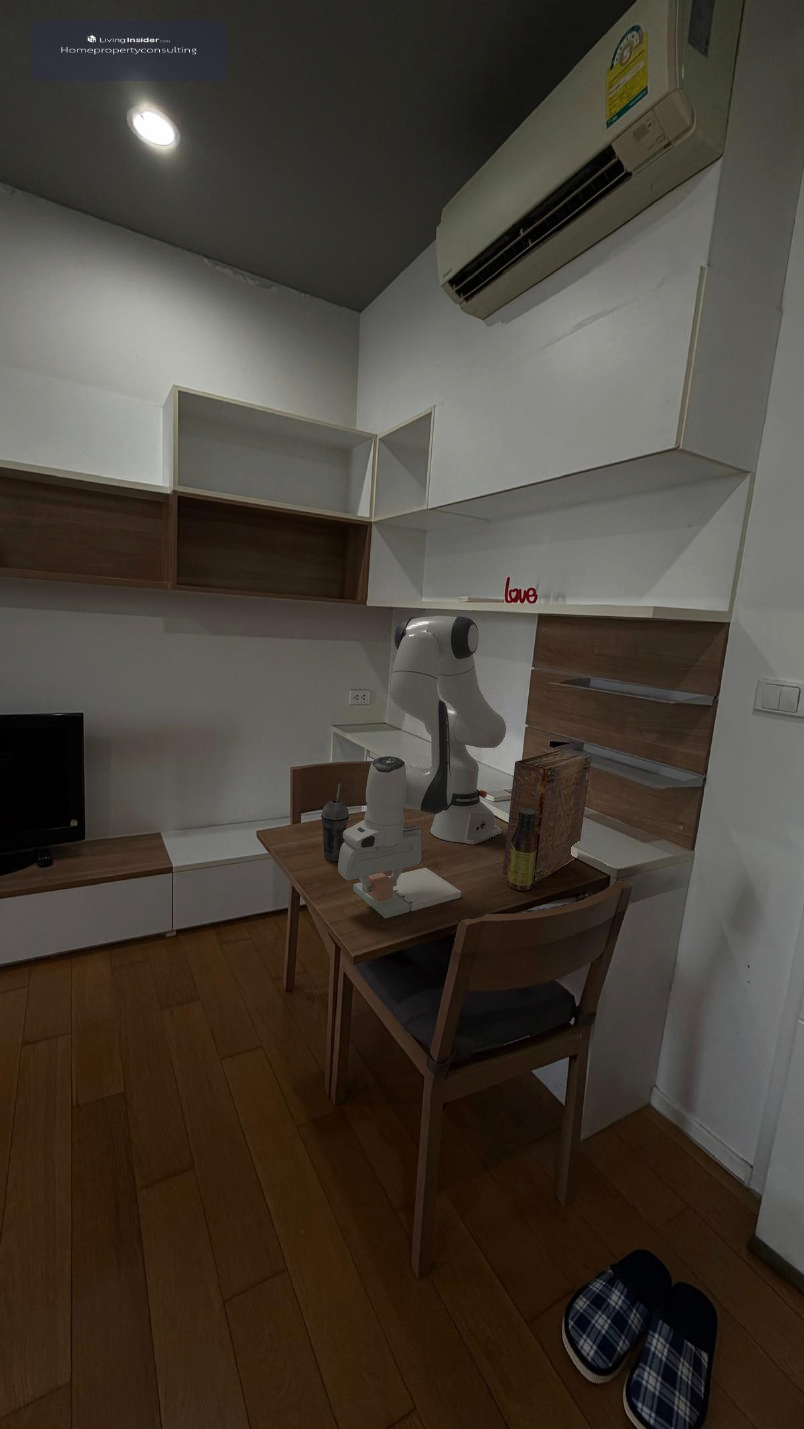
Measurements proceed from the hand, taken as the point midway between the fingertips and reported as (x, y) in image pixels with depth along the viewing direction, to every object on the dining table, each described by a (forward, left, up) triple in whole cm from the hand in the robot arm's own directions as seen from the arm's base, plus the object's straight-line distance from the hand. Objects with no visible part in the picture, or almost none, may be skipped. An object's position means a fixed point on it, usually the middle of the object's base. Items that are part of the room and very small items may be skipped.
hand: (379, 888), depth 129 cm
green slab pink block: (0, 0, -3) cm, 3 cm away
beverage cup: (-1, -25, -3) cm, 25 cm away
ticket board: (-11, 0, -3) cm, 12 cm away
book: (-50, +3, -3) cm, 51 cm away
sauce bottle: (-35, +9, -3) cm, 37 cm away
